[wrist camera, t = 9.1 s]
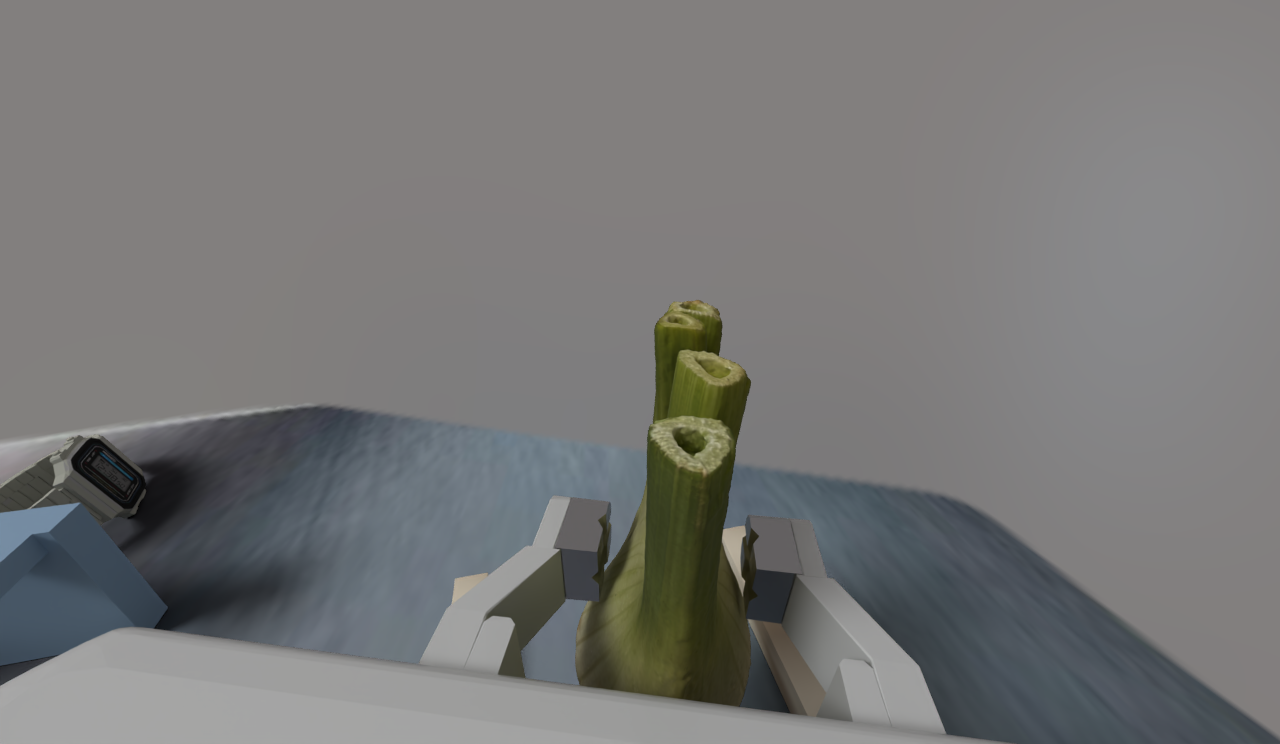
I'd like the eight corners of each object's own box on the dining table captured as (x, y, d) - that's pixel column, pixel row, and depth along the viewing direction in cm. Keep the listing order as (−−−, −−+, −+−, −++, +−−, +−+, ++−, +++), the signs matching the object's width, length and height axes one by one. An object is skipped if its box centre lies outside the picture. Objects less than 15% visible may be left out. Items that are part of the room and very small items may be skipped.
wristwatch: (123, 557, 24) (65, 488, 22) (-63, 616, 21) (-154, 545, 19) (164, 459, 31) (124, 397, 28) (27, 493, 28) (-32, 428, 25)
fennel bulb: (685, 861, 11) (763, 482, 5) (532, 728, 13) (455, 357, 7) (766, 649, 15) (860, 310, 9) (641, 577, 17) (650, 268, 11)
